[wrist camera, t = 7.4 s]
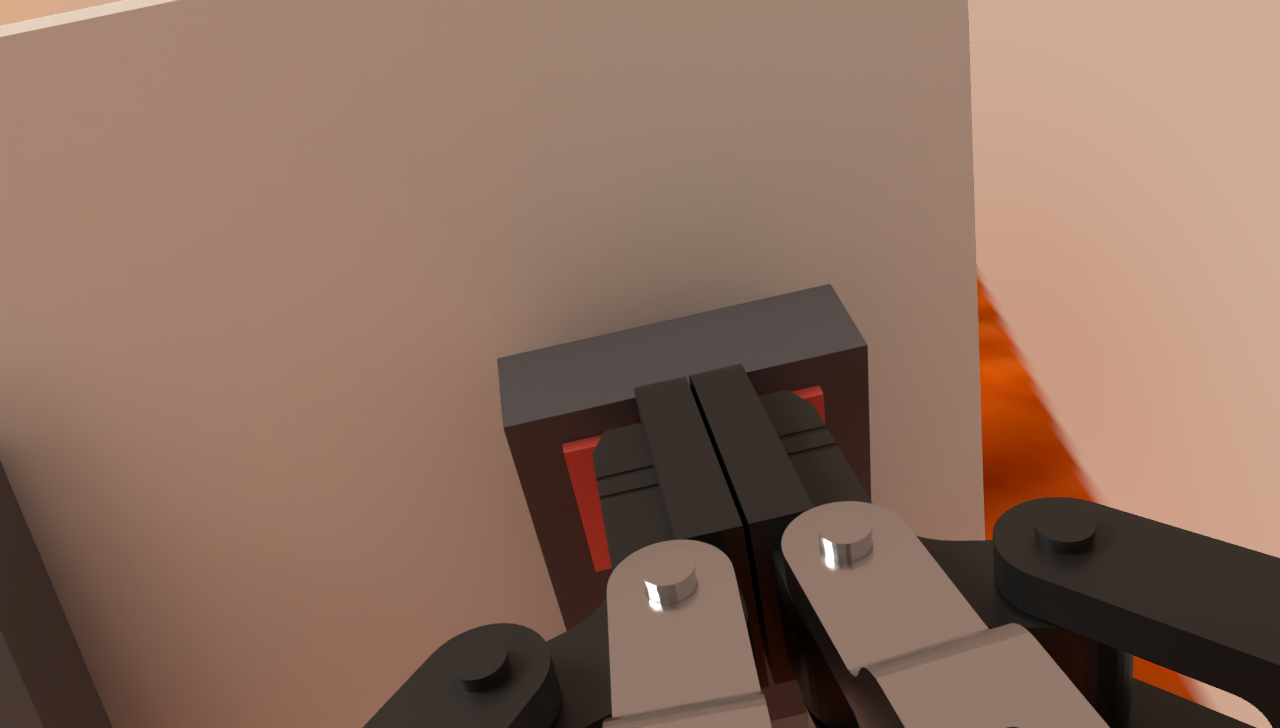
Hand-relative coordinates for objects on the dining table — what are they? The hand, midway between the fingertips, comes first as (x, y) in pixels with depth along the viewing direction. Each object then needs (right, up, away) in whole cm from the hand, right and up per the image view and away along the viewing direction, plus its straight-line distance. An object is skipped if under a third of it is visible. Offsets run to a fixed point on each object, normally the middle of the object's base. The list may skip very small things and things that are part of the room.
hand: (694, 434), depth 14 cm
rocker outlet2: (+1, -5, +5) cm, 7 cm away
